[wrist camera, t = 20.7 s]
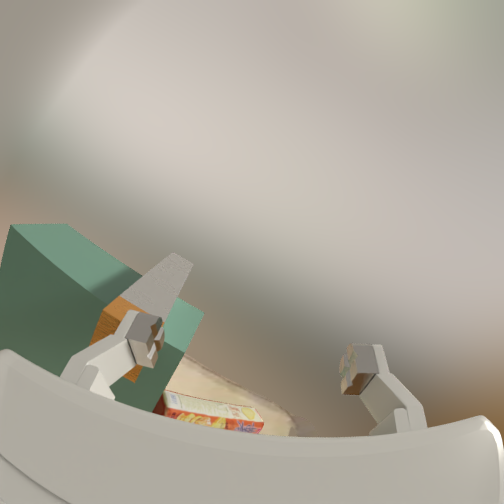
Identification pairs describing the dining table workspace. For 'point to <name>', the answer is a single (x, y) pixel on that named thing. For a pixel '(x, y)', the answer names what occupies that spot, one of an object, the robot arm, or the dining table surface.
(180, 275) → the lever bar
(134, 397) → the green box
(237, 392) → the dining table surface
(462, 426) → the robot arm
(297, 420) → the dining table surface
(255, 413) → the snack package
